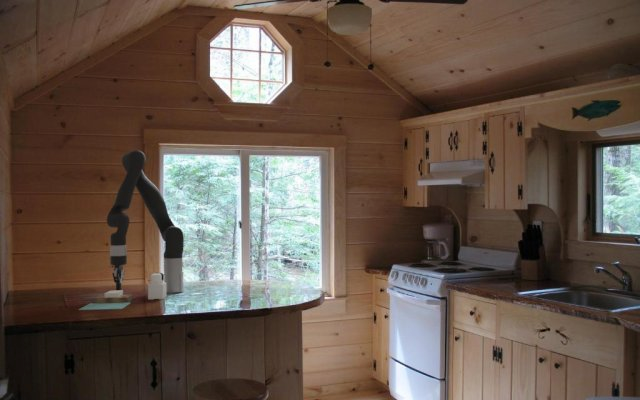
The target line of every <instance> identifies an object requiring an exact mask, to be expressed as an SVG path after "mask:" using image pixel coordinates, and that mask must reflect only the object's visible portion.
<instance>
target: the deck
mask: <svg viewBox="0 0 640 400" xmlns="http://www.w3.org/2000/svg"><path fill="white" fill-rule="evenodd" d="M133 295H134V294H129V293H127V294H124V293H123V295H121V296H120V297H114V298H105V294H99V295H97V296H95V297H93V303H129V302H132V301H133V300H134V296H133Z"/></svg>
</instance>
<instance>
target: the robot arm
mask: <svg viewBox="0 0 640 400" xmlns="http://www.w3.org/2000/svg"><path fill="white" fill-rule="evenodd" d="M146 159H147V158H146V155H145V153H144V152H143V151H141V150H138V149H137V150H136V149H134V150H132V151H129V152H127V153H124V154H123V156H122V157H121V164H122V167H123V169H124V170H125V171H126V175H125V176H124V179H123V181H122V183H121V185H120V186H119V188H118V190H117V192H116V193H117V194H116V198H115V201H114V204H112V207H111V208H110V210H109V212H108V214H107V217H106V224H107V226H109V227H110V228H117V229H116V231H115V232H113V233H111V234H110V248H109V256H110V257H109V258H110V259H109V264H110V266H114V268H113V272H112V278H113V282H114V284H115V287H116V288H115V290H123V289H122V288H123V287H122V283H123V281H124V277H125V268H124V266H125V265H127V264H128V261H127V260H128V256H127V255H128V254H127V253H128V250H127V234H128V230H129V225H130V217H129V216H128V214H127V213H125V212H124V211H127V210H129V209H130V206H131V204H132V203H131V202H132V200H133V196H134V192H135V188H136V189H137V191H138V194H139V195H140V197H141V199H142V201H143V203H144V205H145V207H146V208H147V210H148V212H149V214H150V215H151V217H152V218H153V220H154V222H155V223H156V226H157V227H158V230H159V233H160V235H161V237H162V240H163V241H164V246H165V247H164V251H163V252H164V253H163V274H164V282H166V294H169V293H170V294H172V293H174V294H175V293H182V292H184V291H185V290H184V271H183V253H184V241H185V240H184V232H183V230H182V228H180V227H178V226H176V225H175V223H173V221H172V219H171V217H170V215H169V213H168V209H167V204H166V202H165V198H164V197H163V195H162V193H161V191H160V190H159V188H158V187H157V186H156V185H155V183H153V182H152V181H151V180H150V179H149V178H148V177H147V175H145V173H144V171H143V169H144V166H145V164H146Z"/></svg>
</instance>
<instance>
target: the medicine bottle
mask: <svg viewBox="0 0 640 400" xmlns="http://www.w3.org/2000/svg"><path fill="white" fill-rule="evenodd" d="M165 298H168V297H167V293H166V282H164V273H163V272H154V273H153V272H152V273H151V274H150V283H148V284H147V300H151V301H152V300H154V299H159V300H164V299H165Z"/></svg>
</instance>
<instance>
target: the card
mask: <svg viewBox="0 0 640 400" xmlns="http://www.w3.org/2000/svg"><path fill="white" fill-rule="evenodd" d="M123 294H124V290H123V289H122V290H116V289H114V290H113V289H112V290H111V289H110V290H108V291H107V292H104V295H105V298H114V297H120V296H121V295H123Z"/></svg>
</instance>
